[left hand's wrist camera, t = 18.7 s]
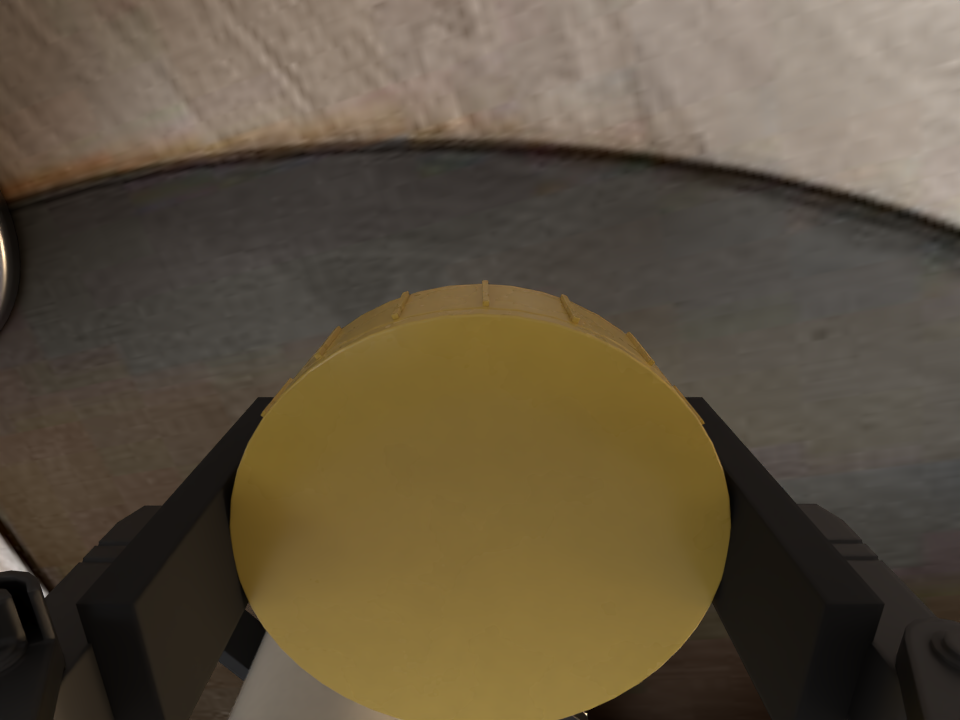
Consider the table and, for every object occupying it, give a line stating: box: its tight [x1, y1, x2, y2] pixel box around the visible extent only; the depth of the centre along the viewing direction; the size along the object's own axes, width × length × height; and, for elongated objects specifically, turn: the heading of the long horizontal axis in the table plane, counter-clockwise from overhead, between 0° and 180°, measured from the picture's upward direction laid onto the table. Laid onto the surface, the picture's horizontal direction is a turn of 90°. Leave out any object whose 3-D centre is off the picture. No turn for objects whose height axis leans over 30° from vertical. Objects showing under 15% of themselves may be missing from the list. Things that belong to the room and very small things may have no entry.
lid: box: [230, 280, 731, 720], centre depth 11 cm, size 9×9×2 cm
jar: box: [227, 631, 402, 720], centre depth 27 cm, size 8×8×19 cm
